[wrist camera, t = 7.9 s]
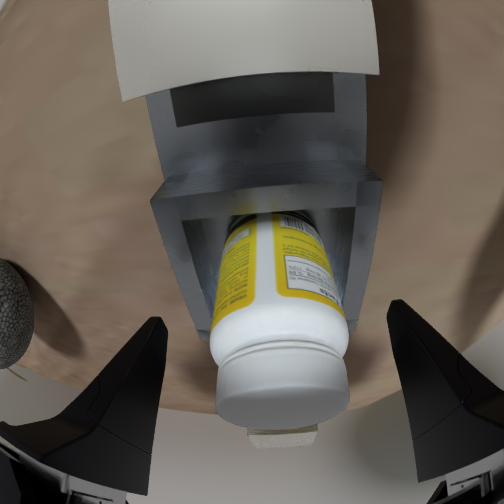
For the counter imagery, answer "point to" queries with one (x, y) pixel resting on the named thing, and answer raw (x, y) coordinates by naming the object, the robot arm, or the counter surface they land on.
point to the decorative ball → (14, 315)
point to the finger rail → (255, 133)
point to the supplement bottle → (278, 326)
